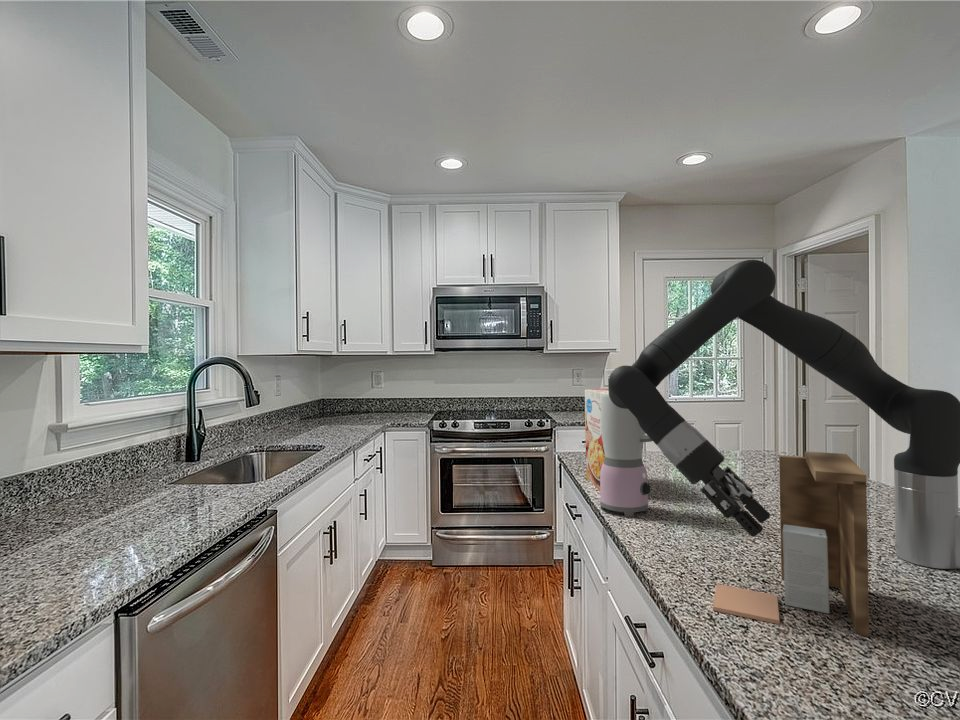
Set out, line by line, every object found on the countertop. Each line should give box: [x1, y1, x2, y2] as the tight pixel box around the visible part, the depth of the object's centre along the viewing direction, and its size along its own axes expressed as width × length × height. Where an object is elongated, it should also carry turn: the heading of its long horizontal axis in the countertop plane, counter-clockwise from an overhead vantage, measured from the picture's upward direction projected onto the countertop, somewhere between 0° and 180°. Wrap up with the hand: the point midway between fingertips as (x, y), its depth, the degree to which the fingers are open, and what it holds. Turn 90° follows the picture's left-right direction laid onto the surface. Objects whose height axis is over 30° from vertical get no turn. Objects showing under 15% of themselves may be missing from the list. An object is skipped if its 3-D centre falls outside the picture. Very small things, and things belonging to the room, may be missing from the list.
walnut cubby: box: [778, 451, 870, 637], centre depth 80 cm, size 10×18×23 cm, turn 151°
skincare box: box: [783, 524, 831, 615], centre depth 80 cm, size 6×4×12 cm
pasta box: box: [584, 388, 609, 492], centre depth 156 cm, size 23×8×30 cm, turn 2°
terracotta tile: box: [712, 583, 780, 625], centre depth 80 cm, size 9×9×1 cm
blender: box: [599, 394, 653, 518], centre depth 130 cm, size 16×12×32 cm
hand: (762, 526), depth 83 cm, fingers open, 8 cm apart
